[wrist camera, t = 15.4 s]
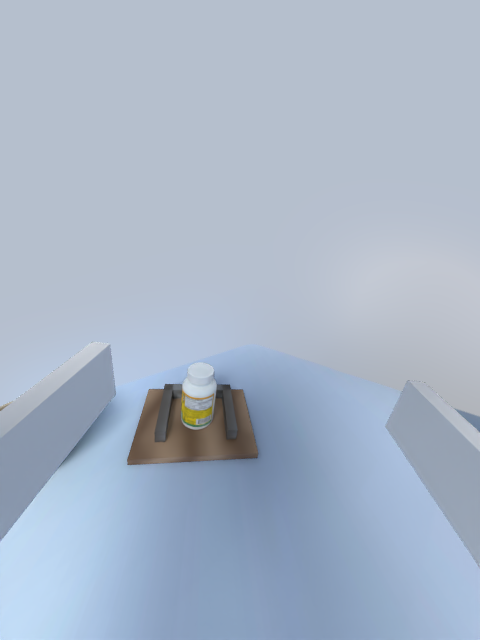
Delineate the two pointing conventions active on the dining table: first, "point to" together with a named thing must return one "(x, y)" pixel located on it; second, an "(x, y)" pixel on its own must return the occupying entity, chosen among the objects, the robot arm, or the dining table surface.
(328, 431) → the dining table surface
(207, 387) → the supplement bottle
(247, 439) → the u rest
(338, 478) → the dining table surface
